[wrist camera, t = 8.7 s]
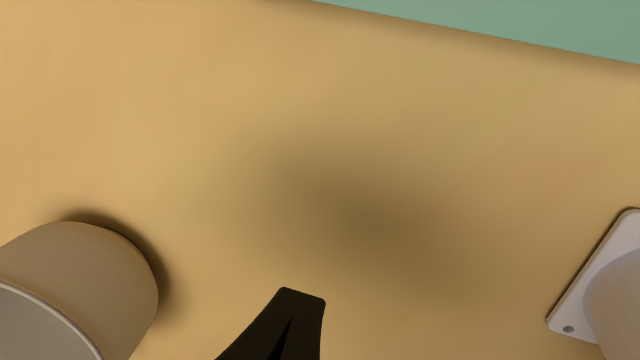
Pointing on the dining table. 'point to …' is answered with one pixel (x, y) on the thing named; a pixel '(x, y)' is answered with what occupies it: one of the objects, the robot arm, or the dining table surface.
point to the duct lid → (529, 21)
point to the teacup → (73, 294)
